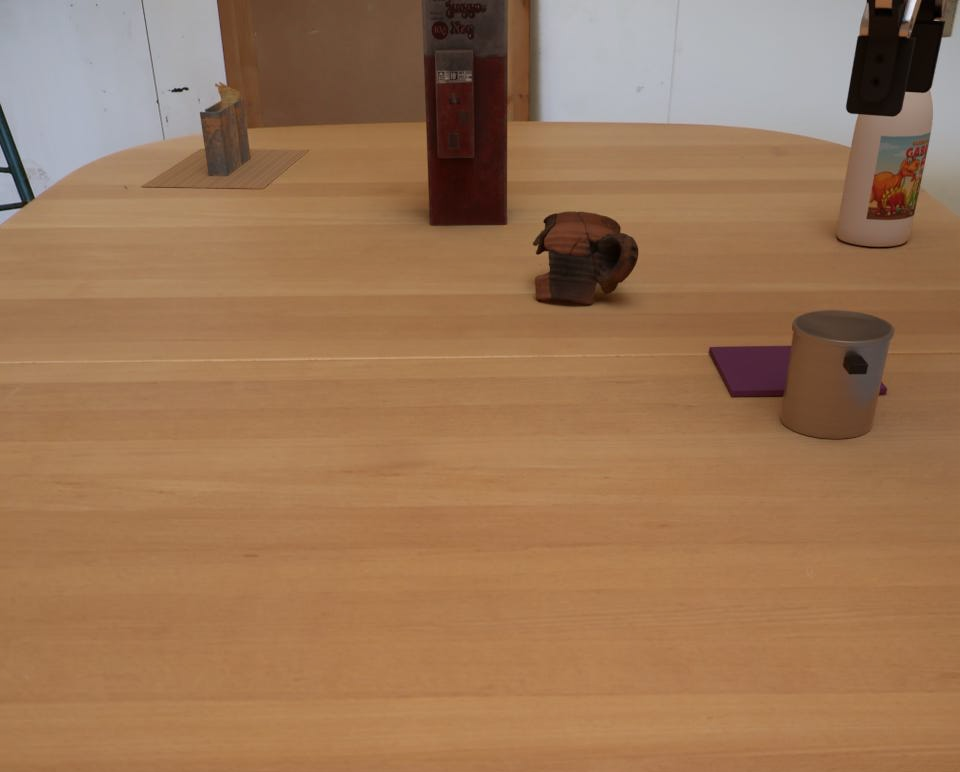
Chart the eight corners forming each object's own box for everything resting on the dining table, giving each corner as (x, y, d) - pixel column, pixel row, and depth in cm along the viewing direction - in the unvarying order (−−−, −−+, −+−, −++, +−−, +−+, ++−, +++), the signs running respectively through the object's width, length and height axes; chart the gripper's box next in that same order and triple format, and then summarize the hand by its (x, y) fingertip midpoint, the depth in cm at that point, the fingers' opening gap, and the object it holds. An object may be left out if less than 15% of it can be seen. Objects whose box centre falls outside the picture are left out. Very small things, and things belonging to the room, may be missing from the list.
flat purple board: (850, 350, 95) (851, 344, 95) (886, 394, 87) (887, 388, 87) (708, 352, 95) (709, 346, 94) (731, 396, 87) (732, 390, 86)
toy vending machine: (428, 230, 128) (417, -71, 111) (432, 206, 137) (423, -76, 120) (507, 229, 128) (508, -72, 111) (506, 205, 136) (507, -77, 120)
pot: (854, 396, 87) (872, 303, 82) (892, 447, 79) (914, 348, 75) (765, 397, 87) (778, 304, 82) (794, 448, 79) (811, 349, 75)
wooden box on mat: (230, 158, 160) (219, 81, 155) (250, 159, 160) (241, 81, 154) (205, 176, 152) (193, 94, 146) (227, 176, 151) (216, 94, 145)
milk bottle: (832, 245, 121) (869, 28, 109) (837, 228, 127) (873, 20, 115) (907, 251, 119) (954, 30, 107) (909, 233, 125) (953, 22, 113)
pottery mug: (505, 301, 108) (516, 212, 107) (566, 325, 115) (576, 242, 114) (606, 291, 100) (618, 194, 99) (664, 318, 107) (677, 228, 106)
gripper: (1010, -274, 53) (925, 130, 63) (1049, -249, 65) (973, 87, 76) (849, -266, 56) (793, 120, 66) (916, -243, 68) (860, 80, 78)
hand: (889, 102), depth 71 cm, fingers open, 9 cm apart
